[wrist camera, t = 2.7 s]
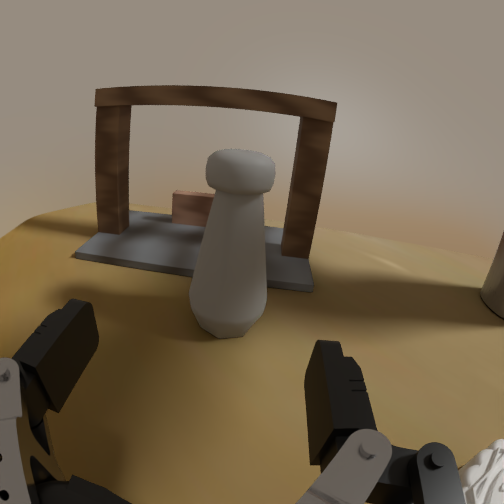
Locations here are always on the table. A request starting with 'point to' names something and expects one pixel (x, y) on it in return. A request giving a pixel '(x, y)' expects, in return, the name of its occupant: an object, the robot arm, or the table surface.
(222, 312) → the salt shaker
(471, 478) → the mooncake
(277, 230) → the gateway
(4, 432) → the robot arm
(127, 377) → the table surface
